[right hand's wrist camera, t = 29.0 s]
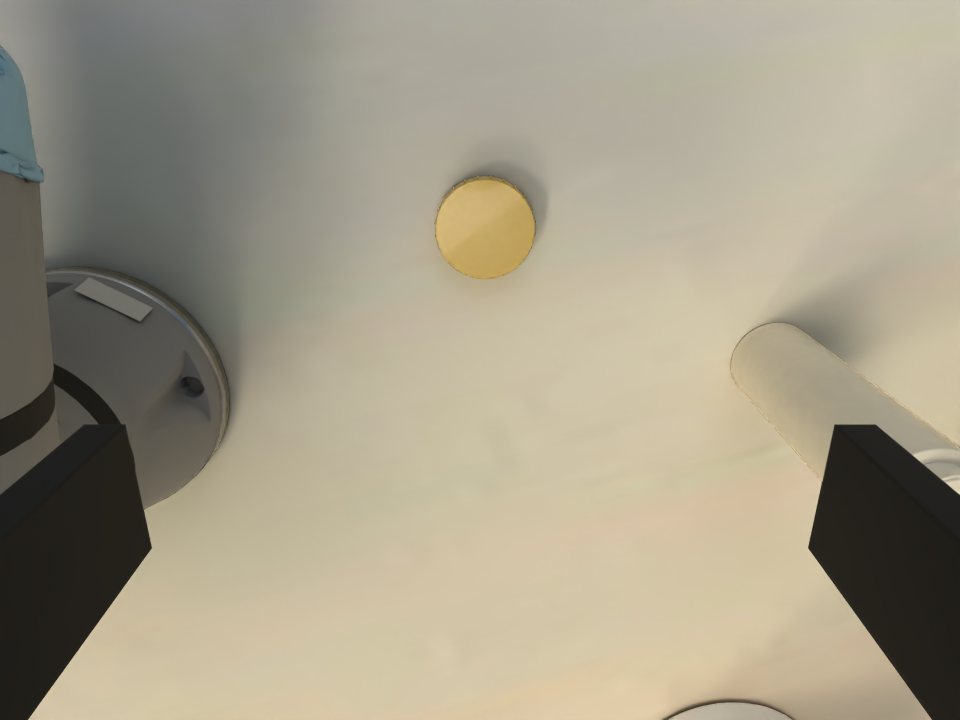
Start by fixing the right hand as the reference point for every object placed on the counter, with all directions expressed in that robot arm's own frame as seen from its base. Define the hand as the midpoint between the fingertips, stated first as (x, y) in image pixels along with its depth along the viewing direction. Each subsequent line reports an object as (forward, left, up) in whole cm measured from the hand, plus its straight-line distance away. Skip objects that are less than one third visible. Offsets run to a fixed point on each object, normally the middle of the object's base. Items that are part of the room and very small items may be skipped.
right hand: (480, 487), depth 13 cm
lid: (0, 0, -26) cm, 26 cm away
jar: (+4, -19, -28) cm, 34 cm away
